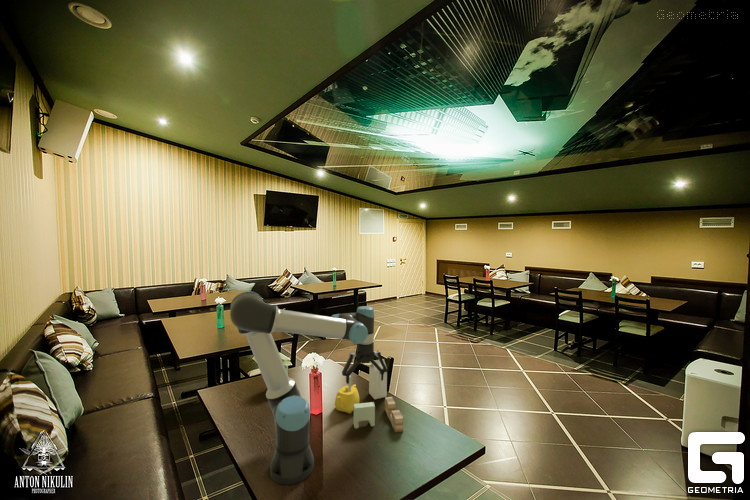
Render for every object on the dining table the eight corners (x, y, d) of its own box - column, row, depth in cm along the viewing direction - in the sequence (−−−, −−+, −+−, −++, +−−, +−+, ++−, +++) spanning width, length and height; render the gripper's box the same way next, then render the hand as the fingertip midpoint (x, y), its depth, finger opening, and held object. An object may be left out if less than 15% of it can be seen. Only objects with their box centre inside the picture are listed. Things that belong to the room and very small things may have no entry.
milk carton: (368, 393, 162) (369, 358, 161) (380, 390, 165) (381, 356, 164) (374, 399, 156) (375, 363, 155) (386, 397, 159) (387, 361, 158)
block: (374, 426, 134) (374, 406, 133) (354, 428, 132) (354, 408, 131) (372, 421, 137) (373, 401, 137) (353, 423, 135) (353, 404, 135)
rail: (403, 431, 130) (403, 418, 130) (395, 432, 129) (395, 418, 129) (391, 408, 148) (391, 396, 147) (384, 409, 147) (385, 397, 147)
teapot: (347, 422, 136) (347, 398, 136) (326, 415, 141) (327, 393, 140) (364, 402, 153) (365, 382, 152) (345, 397, 157) (346, 377, 157)
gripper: (390, 337, 140) (389, 382, 140) (336, 340, 134) (335, 387, 135) (394, 342, 132) (393, 390, 133) (338, 346, 127) (337, 395, 127)
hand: (364, 388), depth 134 cm, fingers open, 13 cm apart
